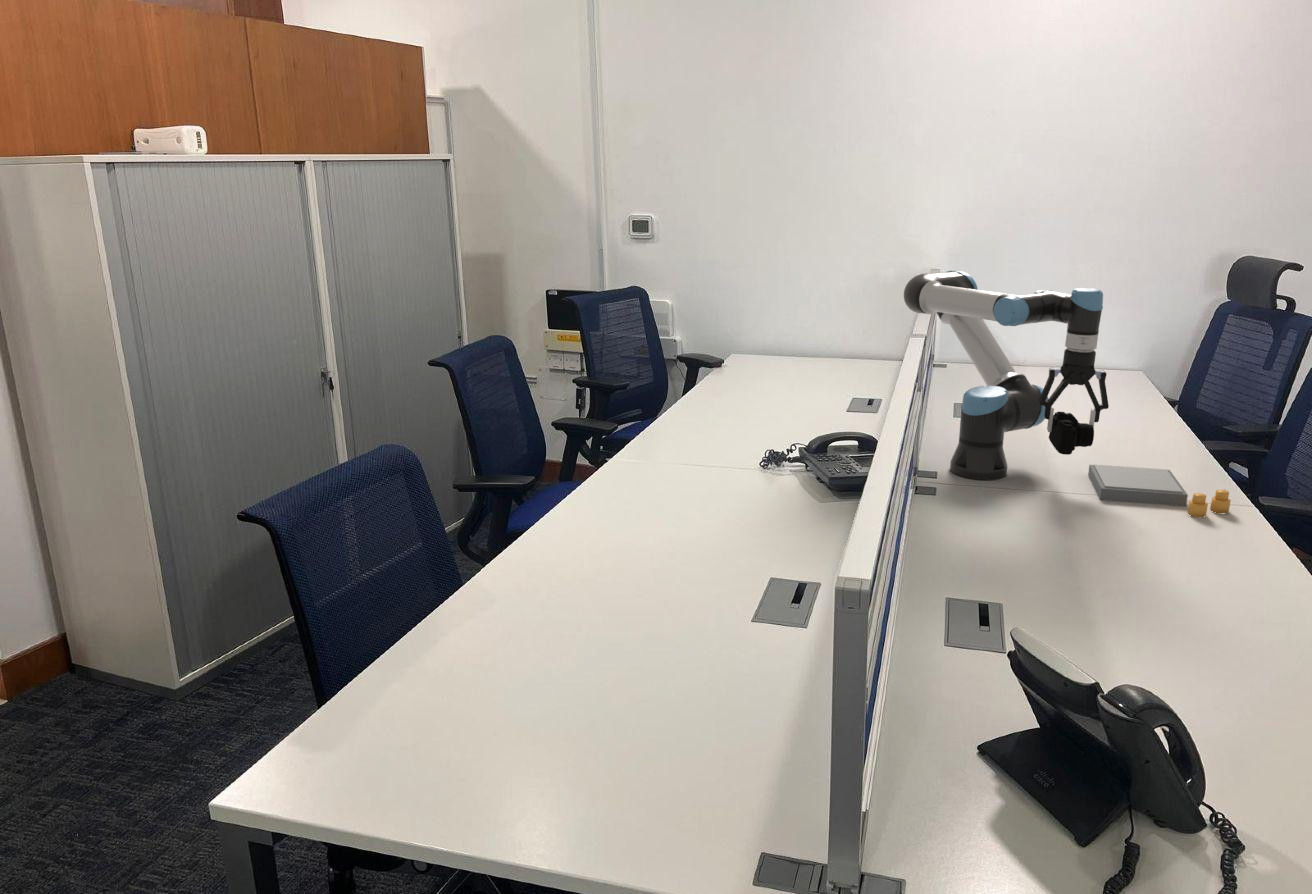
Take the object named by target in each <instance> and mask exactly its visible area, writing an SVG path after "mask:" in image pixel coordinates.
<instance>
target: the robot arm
mask: <svg viewBox="0 0 1312 894" xmlns="http://www.w3.org/2000/svg"><path fill="white" fill-rule="evenodd" d="M903 299H904V303H905V305H906V306H907V308H908V309H909V310H910V311H912V312H914V313H917V314H924V315H934V314H936V315H937V316H938V318H939V319H940V321H941V323H942V324H946V325H949V326H950V327H951V329H952V330H953V332H954V334H955V336H956V337H957V339H958V340H959V342H960V344H961V345H962V347H963V349H964V350H965V352H966V354H967V356H968V357H969V358H970V361H971V362H972V364H973V365H974V367H975V368H976V370H977V372H978V373H979V376H980V377H981V378H982V380H983V381H984V383H985V384H986V386H985V385H979V386H975V387H972V388H969V389H968V390H966V391H965V393H963V396H962V402H961V404H960V420H959V421H960V422H959V435H958V443H957V445H956V449H955V450H954V453H953V455H952V458H951V460H950V463H949V470H950V472H951V473H953V474H954V475H957V476H959V477H962V478H966V479H973V480H980V481H981V480H983V481H985V480H986V481H990V480H991V481H992V480H998V479H1002V478H1004V477H1006V476H1007V474H1008V462H1007V458H1006V454H1005V451H1004V439H1005V433H1007V432H1013V431H1014V432H1015V431H1018V430H1027V429H1031V428H1032V427H1036V426H1038V425H1040V424H1041V423H1042V422H1044V420H1047V426H1046V427H1047V428H1046V429H1047V433H1050V432H1051V430H1052V422H1053V415H1055V413H1054V412H1055V408H1054V406H1053V405H1054V404H1055V403H1056V401H1057V400H1058V399H1059V397H1060V396H1061V394H1062V393H1063V392H1064V391H1065V389H1066V388H1067V387H1068V386H1069V385H1070V386H1071V385H1073V386H1074V385H1075V386H1076V385H1077V386H1084V387H1085V389H1086V391H1087V393H1088V396H1089V398H1090V401H1091V402H1092V405H1093V408H1092V407H1091V408H1090V412H1089V413H1090V414H1089V421H1088V424H1089V425H1093V427H1094V428H1095V423H1098V422H1099V421H1100V414H1101V411H1102V410H1107V409H1109V406H1110V405H1109V400H1108V399H1109V398H1108V393H1107V385H1106V379H1107V372H1106V371H1105V370H1104V369H1103V370H1102V369H1101V370H1097V369H1095V361H1096V355H1097V352H1096V351H1095V350H1096V349H1098V348H1097V346H1098V338H1099V331H1100V330H1099V329H1100V323H1101V317H1102V311H1103V308H1104V307H1103V305H1104V303H1103V301H1104V292H1103V291H1101V290H1100V289H1098V288H1093V287H1092V288H1089V287H1077V288H1074V289H1072V291H1071V294H1070V293H1064V292H1059V291H1053V290H1050V289H1049V290H1047V289H1045V290H1044V289H1040V290H1036V291H1035V292H1034V293H1031V294H1014V293H1013V294H1012V293H1005V292H996V291H990V290H982V289H981V290H980V289H978V285H977V282H976V281H975V279H974V278H973V276H971V275H970V274H968V273H967V272H965V271H962V270H959V271H957V270H948V271H945V272H944V271H943V272H929V273H927V272H926V273H921V274H918V275H915V276H914V277H912V278H911V279H910V280H909V281H908V282H907V283H906V284H905V288H904V291H903ZM984 320H987V321H992V322H997V323H998V324H999V325H1000V326H1004V327H1016V326H1022V325H1028V324H1037V323H1045V322H1046V323H1047V322H1057V323H1063V324H1067V329H1066V334H1065V335H1066V337H1065V343H1064V346H1065V347H1066V348H1065V349H1064V353H1063V361H1062V364H1061V366H1060V368H1054V367H1049V369H1048V377H1047V379H1046V381H1045V384H1044V387H1042V386H1039V385H1036V384H1031V383H1030V381H1029V380H1028V378H1027V376H1026V375H1025V374H1023V373H1019V372H1017V371H1016V370H1015V368H1014V366H1012V364H1011V362H1010V360H1009V358H1008V357H1007V356H1006V354H1005V352H1004V351H1003V349H1002V348H1001V346H1000V344H999V343H998V341H997V340H996V338H995V336H994V335H993V333H992V332H991V330H990V328H989V327H988V326H987V324H986V322H985V321H984ZM1059 374H1061V376H1062V377H1063V378H1062V379H1061V381H1060V383H1059V384H1058V385H1057V387H1056V388H1055V390H1053V392H1052V394H1051V395H1050V396H1049V393H1050V392H1051V389H1052V387H1053V384H1054V381H1055V378H1056V377H1059V376H1058V375H1059ZM1094 376H1096V379H1097V380H1098V386H1099V392H1100V399H1101V403H1099V401H1098V399H1097V397H1096V394H1095V392H1094V389H1093V387H1092V385H1091V383H1090V380H1091V379H1092V378H1093V377H1094ZM1048 396H1049V397H1048Z"/></svg>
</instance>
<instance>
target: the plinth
mask: <svg viewBox="0 0 1312 894" xmlns="http://www.w3.org/2000/svg"><path fill="white" fill-rule="evenodd" d="M1087 475H1088V478H1089V480H1090V482H1091V484H1092V486H1093V489H1094V490H1095V492H1096V495H1097V497H1098V499H1099V500H1102V501H1114V502H1115V501H1117V502H1129V503H1143V504H1152V505H1153V504H1156V505H1167V506H1180V505H1184V506H1183V507H1186V506H1187V502H1188V497H1189V495H1188V492H1186V490H1185V489H1184V488H1183V486H1182V485H1181V483H1180V482H1179V481H1178V479H1177V478H1176V476H1175V475H1174V474H1173V472H1172V471H1171V470H1170V469H1163V468H1161V469H1160V468H1149V467H1137V466H1135V467H1134V466H1120V465H1108V464H1107V465H1105V464H1103V465H1102V464H1089V467H1088V473H1087Z"/></svg>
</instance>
